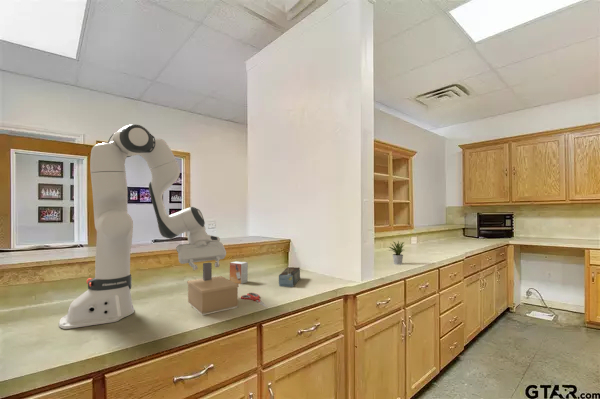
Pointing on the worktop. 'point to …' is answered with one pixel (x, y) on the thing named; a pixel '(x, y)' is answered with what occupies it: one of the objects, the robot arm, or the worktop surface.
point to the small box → (239, 272)
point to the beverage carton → (289, 277)
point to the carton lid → (211, 281)
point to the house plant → (397, 253)
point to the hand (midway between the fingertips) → (206, 268)
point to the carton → (213, 300)
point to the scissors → (253, 298)
